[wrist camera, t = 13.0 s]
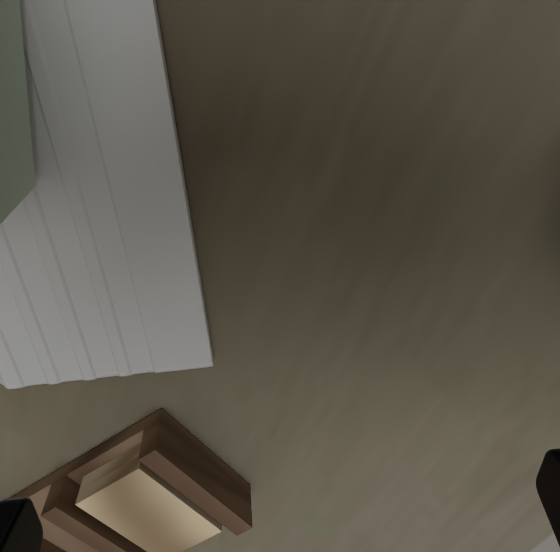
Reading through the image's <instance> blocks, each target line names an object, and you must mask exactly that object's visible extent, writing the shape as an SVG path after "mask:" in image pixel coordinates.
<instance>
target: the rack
mask: <svg viewBox="0 0 560 552" xmlns="http://www.w3.org/2000/svg"><path fill="white" fill-rule="evenodd" d="M140 443H141V447H140V453H139V458H138V460H139V461H140V462H142V463H143V464H144V465H146V466H147V467H148V468H149V469H151V470H152V471H153V472H155V473H156V474H157V475H159V476H160V477H161V478H162V479H164V480H165V481H166V482H168V483H169V484H170V485H172V486H173V487H174V488H175V489H177V490H178V491H179V492H181V493H182V494H183V495H185V496H186V497H187V498H188V499H190V500H191V501H192V502H194V503H195V504H196V505H198V506H199V507H200V508H201V509H203V510H204V511H205V512H207V513H208V514H209V515H211V516H212V517H213V518H214V519H216V520H217V521H218V522H220V523H221V524H222V525H224V526H225V527H226V528H228V529H229V530H230V531H231V532H233V533H234V534H235V535H239V534H241V533H243V532H245V531H247V530H249V529H251V528H252V511H251V492H250V484H248V483H247V482H246V481H245V480H244V479H243V478H242V477H240V476H239V475H238V474H237V473H236V472H235V471H233V470H232V469H231V468H230V467H229V466H228V465H227V464H225V463H224V462H223V461H222V460H221V459H220V458H218V457H217V456H216V455H215V454H214V453H213V452H212V451H210V450H209V449H208V448H207V447H206V446H205V445H203V444H202V443H201V442H200V441H199V440H198V439H197V438H195V437H194V436H193V435H192V434H191V433H190V432H188V431H187V430H186V429H185V428H184V427H183V426H182V425H180V424H179V423H178V422H177V421H176V420H175V419H173V418H172V417H171V416H170V415H169V414H168V413H166V412H165V411H164V410H163V409H162V408H161V409H159V410H158V411H156V412H154V413H153V414H151V415H149V416H147V417H146V418H144V419H142V420H141V421H139V422H137V423H136V424H134V425H132V426H131V427H129V428H127V429H126V430H124V431H122V432H121V433H119V434H117V435H116V436H114V437H112V438H110V439H109V440H107V441H105V442H104V443H102V444H100V445H99V446H97V447H95V448H94V449H92V450H90V451H89V452H87V453H85V454H84V455H82V456H80V457H78V458H77V459H75V460H73V461H72V462H70V463H68V464H67V465H65V466H63V467H62V468H60V469H58V470H57V471H55V472H53V473H52V474H50V475H48V476H46V477H45V478H43V479H41V480H40V481H38V482H36V483H35V484H33V485H31V486H30V487H28V488H26V489H25V490H23V491H21V492H20V493H18V494H16V495H14V496H13V497H11V498H18V497H28V498H30V499H31V500H32V502H33V504H34V507H35V509H36V512H37V514H38V517H39V519H40V521H41V524H42V527H43V541H42V547H41V552H147V551H145V550H144V549H142V548H141V547H139V546H138V545H136V544H134V543H133V542H131V541H130V540H128V539H127V538H125V537H124V536H122V535H121V534H119V533H118V532H116V531H115V530H113V529H111V528H110V527H108V526H107V525H105V524H104V523H102V522H101V521H99V520H98V519H96V518H95V517H93V516H92V515H90V514H88V513H87V512H85V511H84V510H82V509H81V508H79V507H78V506H76V505H75V503H76V500H77V496H78V493H79V489H80V486H81V482H82V479H83V477H84V476H85V475H87V474H89V473H91V472H92V471H94V470H96V469H97V468H99V467H101V466H103V465H104V464H106V463H108V462H109V461H111V460H113V459H115V458H116V457H118V456H120V455H121V454H123V453H125V452H127V451H128V450H130V449H132V448H133V447H135V446H137V445H139V444H140Z"/></svg>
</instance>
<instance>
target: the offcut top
mask: <svg viewBox="0 0 560 552" xmlns="http://www.w3.org/2000/svg"><path fill="white" fill-rule="evenodd" d="M138 458H139V456H138V457H136V458H135V459H133V460H131V461H129V462H128V463H126V464H124V465H122V466H121V467H119V468H117V469H116V470H114V471H112V472H110V473H109V474H107V475H105V476H103V477H102V478H100V479H98V480H96V481H95V482H93V483H91V484H89V485H88V486H86V487H84V488H82V489H81V490H79V493H78V496H77V500H76V503H75V505H76V506H78V507H79V508H81V509H82V510H84V511H85V512H87V513H88V514H90V515H92V516H93V517H95V518H96V519H98V520H99V521H101V522H102V523H104V524H105V525H107V526H108V527H110V528H111V529H113V530H115V531H116V532H118V533H119V534H121V535H122V536H124V537H125V538H127V539H128V540H130V541H131V542H133V543H134V544H136V545H138V546H139V547H141V548H142V549H144V550H145V551H147V552H182V551H184V550H186V549H188V548H190V547H192V546H194V545H196V544H198V543H200V542H202V541H204V540H206V539H208V538H210V537H212V536H214V535H215V534H217V533H219V532H221V531H222V524H221V523H220V522H218V521H217V520H216V519H214V518H213V517H212V516H211V515H209V514H208V513H207V512H205V511H204V510H203V509H201V508H200V507H199V506H198V505H196V504H195V503H194V502H192V501H191V500H190V499H188V498H187V497H186V496H185V495H183V494H182V493H181V492H179V491H178V490H177V489H175V488H174V487H173V486H172V485H170V484H169V483H168V482H166V481H165V480H164V479H162V478H161V477H160V476H159V475H157V474H156V473H155V472H153V471H152V470H151V469H149V468H148V467H147V466H146V465H144V464H143V463H142V462H140V461H139V460H138Z"/></svg>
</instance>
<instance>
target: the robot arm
mask: <svg viewBox="0 0 560 552" xmlns="http://www.w3.org/2000/svg"><path fill="white" fill-rule="evenodd" d="M536 487H537V491H538V494H539V497H540V499H541V502H542V504H543V507H544V509H545V512H546V514H547V517H548V519H549V521H550V524H551V526H552V529H553V531H554V534H555V536H556V539H557V541H558V544H559V546H560V449H551V450H549V451H547V452H546V454H545V456H544V459H543V462H542V464H541V467H540V470H539V472H538V475H537V478H536ZM42 541H43V527H42V524H41V521H40V519H39V517H38V514H37V512H36V509H35V507H34V504H33V502H32V500H31V499H30V498H28V497H18V498H8V499H4V500H3V501H1V502H0V552H41V547H42Z"/></svg>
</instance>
